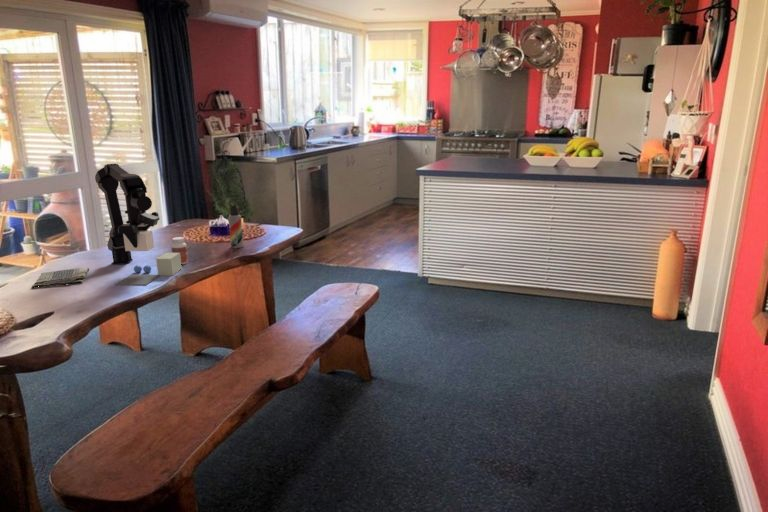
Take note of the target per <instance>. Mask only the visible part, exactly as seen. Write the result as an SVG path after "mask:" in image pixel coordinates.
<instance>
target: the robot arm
mask: <svg viewBox="0 0 768 512" xmlns="http://www.w3.org/2000/svg"><path fill="white" fill-rule="evenodd" d="M94 178H95V179H94V180H95V182H96V184H97V186H98V188H99V190H100V191H102V193H103V194H104V198H105V203H106V208H107V212H108V215H109V220H110V225H111V228H110V230H109V233H108V234H109V238H108V241H107V244H106V245H107V250H109V251H111V253H112V262H111V265H127V264H129V263H130V262H132V261H133V258H132V251H125V244H124V237H123V234H125V236H126V237H127V238H128V239H129V241H130V242H131V244H132V245H133V247H134V248H137V234H138V233H139V232H140V231H149V229H150V228H151V227H155V226H157V225H158V222H159V221H160V216H159V213H158V212H157V211H153V212H151V213H150V212H149V213H148V212H147V211H149V210H150V209H151V207H152V205H153V201H152V199H151V198H150V197H149V196H148V195H146V194H147V193H148V191H147V186H146V184H145V182H144V181H143V179H142V178H141V176H140V175H138V174H136V173H129V172H127V171H126V170H125V169H124V168H122V167H121V166H120V165H119V164H118V163H107V164H105V165H104V166H103V167H102V168H100V169H99V170H97V172H96V174H95V176H94ZM118 187H120V188H121V190H122V192H123V195H124V197H125V198H124V199H125V205H126V206H125V207H126V210H124V214H127V220H126V223H124V220H123V215H122V212H121V211H122V210H121V207H120V206H121V205H120V202H119V198H118V193H117V191H118V189H119V188H118Z"/></svg>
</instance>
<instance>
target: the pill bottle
mask: <svg viewBox="0 0 768 512" xmlns="http://www.w3.org/2000/svg"><path fill="white" fill-rule="evenodd" d="M171 242H172V244H171V245H170V249H171V253H180V256H181V264H182V265H186V264H188V263H189V257H188V247H187V243H186V242H185V237H183V236H176V237H173V238H172V241H171Z"/></svg>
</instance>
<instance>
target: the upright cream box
mask: <svg viewBox="0 0 768 512" xmlns="http://www.w3.org/2000/svg"><path fill="white" fill-rule="evenodd" d="M123 237H124V244H125V251H131V252H148V251H150V250H152V249H154V248H155V242H154V235H153V230H147V231H140V232H139V233H138V234H137V248H134V247H133V245H132V244H131V242H130V241H129V239H128V238H127V237H126V236H125V234H123Z"/></svg>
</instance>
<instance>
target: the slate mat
mask: <svg viewBox="0 0 768 512" xmlns="http://www.w3.org/2000/svg"><path fill="white" fill-rule="evenodd" d="M160 276H161V275H158V274H129V275H128V276H127V277H125V278H123V279H122V280H120V281H117V283H115V286H148V285H149V284H150V283H152V282H153V281H155V280H156V279H158V278H159V277H160Z"/></svg>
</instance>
